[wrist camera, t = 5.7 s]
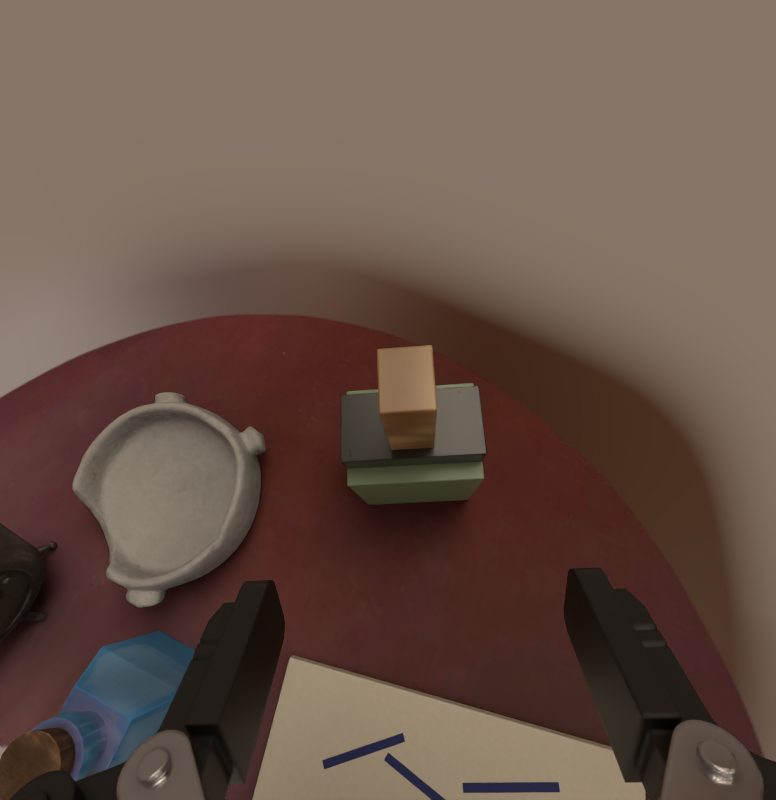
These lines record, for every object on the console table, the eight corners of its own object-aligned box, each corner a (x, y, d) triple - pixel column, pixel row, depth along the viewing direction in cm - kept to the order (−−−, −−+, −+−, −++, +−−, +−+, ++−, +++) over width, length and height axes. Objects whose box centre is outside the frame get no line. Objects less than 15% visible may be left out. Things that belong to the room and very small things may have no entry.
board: (641, 754, 28) (658, 770, 26) (635, 961, 25) (654, 999, 22) (292, 654, 31) (283, 661, 29) (248, 823, 28) (234, 844, 26)
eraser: (475, 397, 26) (496, 329, 18) (482, 461, 25) (509, 417, 17) (346, 405, 27) (313, 342, 19) (346, 469, 26) (311, 429, 18)
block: (461, 427, 36) (473, 382, 27) (468, 499, 34) (484, 478, 25) (366, 433, 37) (346, 391, 27) (368, 505, 35) (346, 486, 25)
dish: (185, 623, 33) (145, 634, 28) (76, 511, 36) (25, 504, 32) (308, 470, 36) (291, 458, 31) (196, 382, 40) (166, 358, 35)
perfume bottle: (228, 668, 31) (118, 730, 20) (184, 762, 30) (37, 889, 18) (159, 630, 33) (19, 670, 21) (113, 719, 31) (-66, 813, 20)
